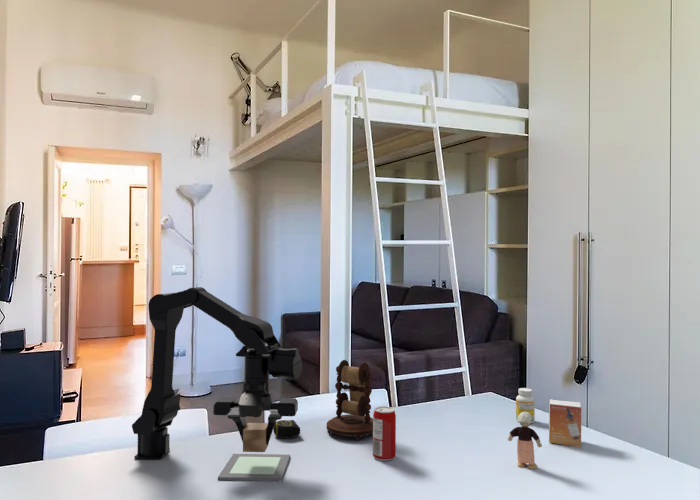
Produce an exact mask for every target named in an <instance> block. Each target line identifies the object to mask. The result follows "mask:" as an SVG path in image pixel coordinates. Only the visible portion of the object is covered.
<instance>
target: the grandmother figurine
mask: <svg viewBox="0 0 700 500" xmlns="http://www.w3.org/2000/svg"><path fill="white" fill-rule="evenodd" d="M531 420H532V417H531V414H530V413H529V412H522V413H520V414H519V416H518V418H517V420H516V422H517V423H519V425H520V426H516V427H515V428H513V429H512V430H511V431H509V435H508V437H507V440H508V441H509V442H512V440H513V438H515V437H518V438H517V440H516V441H517V443H516V444H517V445H516V455H517V461H518V462H517V467H518V468H525V467H527V469H530V470H535V469H538V465H537V464H536V463H535V459H536V458H535V449H534V446H535V445H534V441H535V443H536V445H537V447H538V448H542V447H543V445H542V442H541V440H540V436H539V435H538V433H537V432H536V431H535V430H534V429H533V428H531V427H530V426H531ZM533 440H534V441H533Z"/></svg>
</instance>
